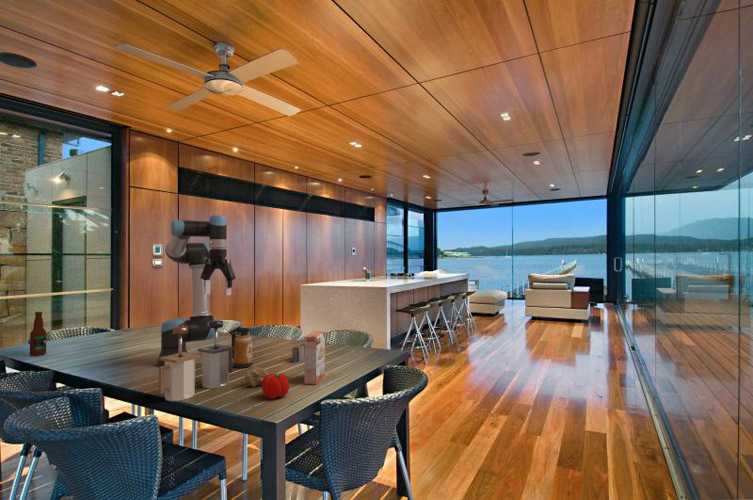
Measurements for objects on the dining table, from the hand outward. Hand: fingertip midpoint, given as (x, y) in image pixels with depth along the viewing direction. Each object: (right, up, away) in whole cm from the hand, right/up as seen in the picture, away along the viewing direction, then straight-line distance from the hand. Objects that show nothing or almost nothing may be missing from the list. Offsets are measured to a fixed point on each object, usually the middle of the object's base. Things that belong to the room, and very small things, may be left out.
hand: (217, 294), depth 185 cm
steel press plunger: (+3, -27, -11) cm, 29 cm away
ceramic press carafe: (-5, -38, -27) cm, 47 cm away
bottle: (-123, -40, +46) cm, 137 cm away
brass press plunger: (-5, -26, -26) cm, 37 cm away
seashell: (+22, -38, -10) cm, 45 cm away
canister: (+4, -39, +19) cm, 44 cm away
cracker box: (+46, -38, -5) cm, 60 cm away
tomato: (+34, -38, -27) cm, 57 cm away
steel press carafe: (+4, -38, -10) cm, 40 cm away
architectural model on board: (+32, -40, +32) cm, 60 cm away
